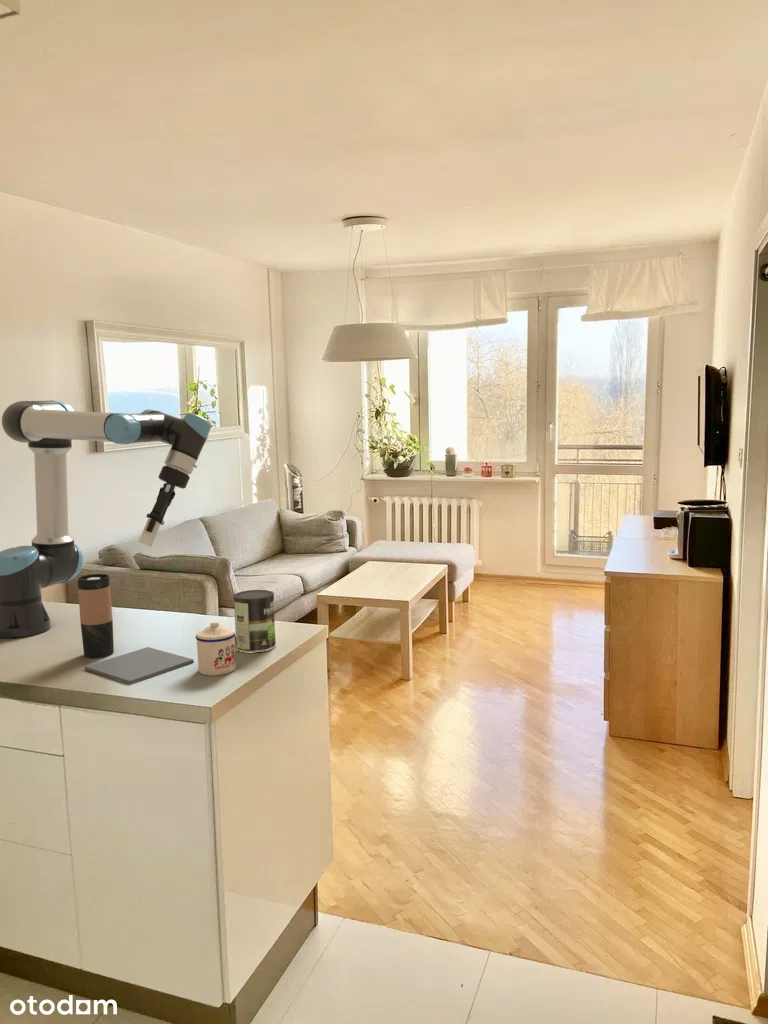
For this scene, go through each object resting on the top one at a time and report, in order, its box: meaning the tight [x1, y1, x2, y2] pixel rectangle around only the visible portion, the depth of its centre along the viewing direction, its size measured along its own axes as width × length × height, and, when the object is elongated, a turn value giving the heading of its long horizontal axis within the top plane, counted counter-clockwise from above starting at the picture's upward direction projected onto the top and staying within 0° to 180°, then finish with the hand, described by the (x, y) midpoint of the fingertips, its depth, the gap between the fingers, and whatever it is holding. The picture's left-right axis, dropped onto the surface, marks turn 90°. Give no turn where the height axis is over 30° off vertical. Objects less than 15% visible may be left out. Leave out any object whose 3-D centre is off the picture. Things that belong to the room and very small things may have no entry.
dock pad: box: [84, 646, 194, 685], centre depth 188 cm, size 18×18×1 cm
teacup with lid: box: [195, 620, 239, 677], centre depth 184 cm, size 12×9×12 cm
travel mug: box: [77, 573, 115, 659], centre depth 196 cm, size 8×8×20 cm
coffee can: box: [232, 589, 277, 653], centre depth 199 cm, size 10×10×14 cm
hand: (144, 544), depth 203 cm, fingers open, 13 cm apart
